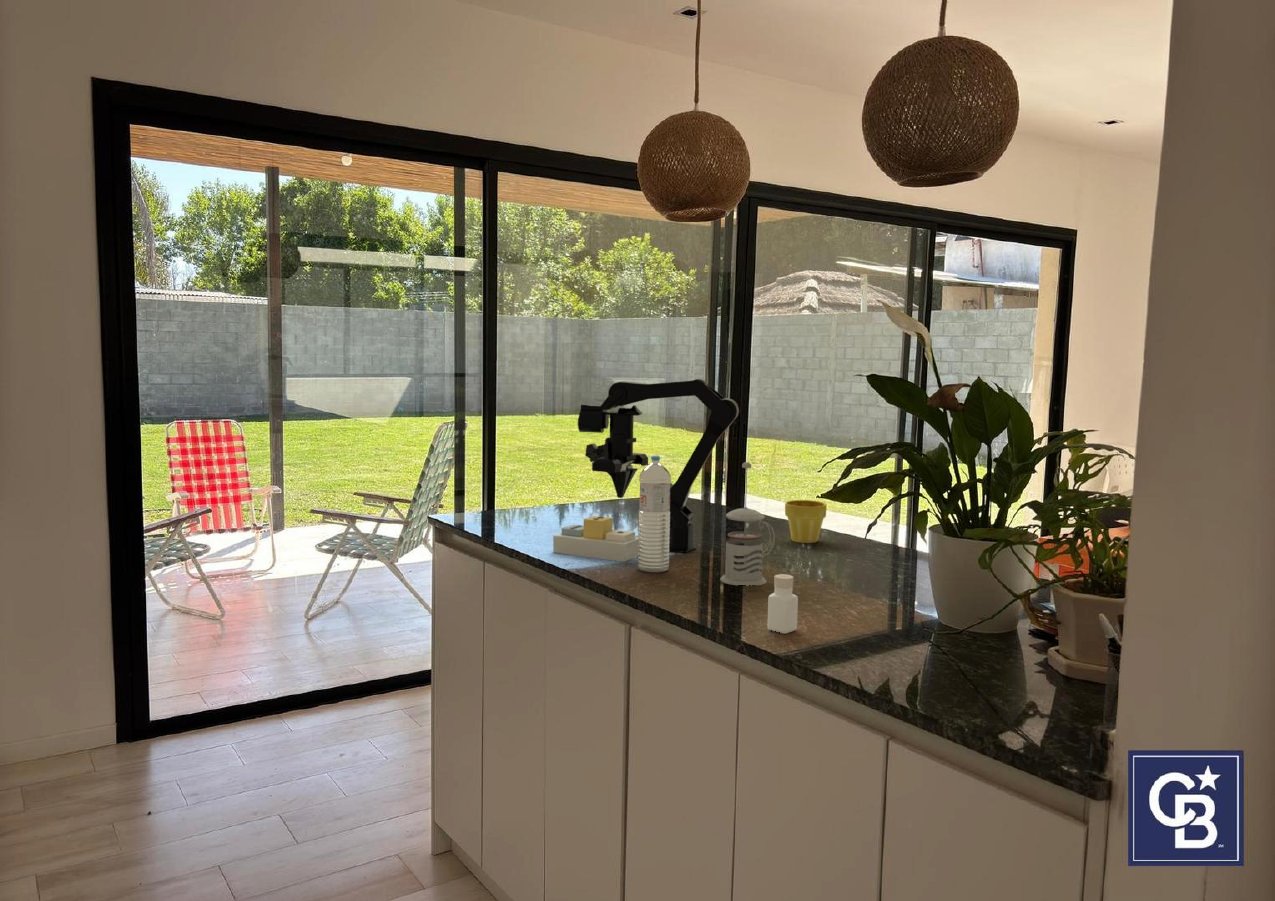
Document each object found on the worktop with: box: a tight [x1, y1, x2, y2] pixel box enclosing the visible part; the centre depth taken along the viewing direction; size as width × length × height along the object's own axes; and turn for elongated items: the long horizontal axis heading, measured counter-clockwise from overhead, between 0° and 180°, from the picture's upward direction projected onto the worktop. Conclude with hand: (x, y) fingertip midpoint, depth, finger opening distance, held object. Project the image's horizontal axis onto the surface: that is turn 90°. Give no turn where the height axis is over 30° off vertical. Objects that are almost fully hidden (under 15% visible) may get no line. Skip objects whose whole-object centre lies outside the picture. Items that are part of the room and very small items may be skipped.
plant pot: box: [784, 499, 827, 544], centre depth 239 cm, size 10×10×10 cm
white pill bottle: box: [766, 573, 799, 635], centre depth 161 cm, size 4×4×10 cm
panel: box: [552, 532, 639, 563], centre depth 220 cm, size 19×9×4 cm, turn 63°
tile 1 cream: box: [606, 529, 636, 543], centre depth 217 cm, size 5×5×5 cm
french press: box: [719, 461, 776, 587], centre depth 196 cm, size 10×12×25 cm
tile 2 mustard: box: [583, 515, 614, 540], centre depth 220 cm, size 5×5×5 cm
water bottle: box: [637, 455, 672, 574], centre depth 204 cm, size 7×7×25 cm
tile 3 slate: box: [561, 524, 584, 537], centre depth 223 cm, size 5×5×5 cm
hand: (620, 497), depth 227 cm, fingers closed
